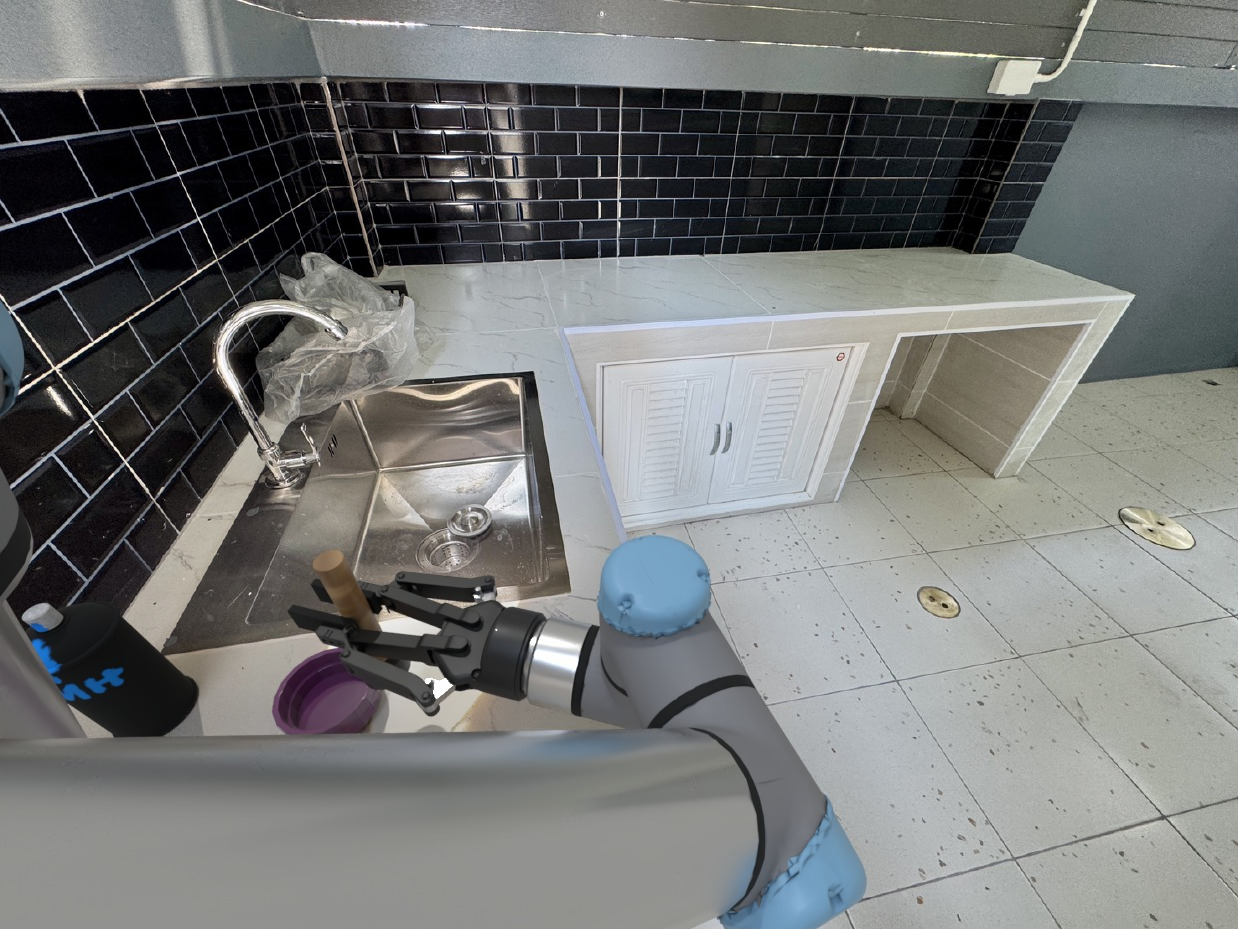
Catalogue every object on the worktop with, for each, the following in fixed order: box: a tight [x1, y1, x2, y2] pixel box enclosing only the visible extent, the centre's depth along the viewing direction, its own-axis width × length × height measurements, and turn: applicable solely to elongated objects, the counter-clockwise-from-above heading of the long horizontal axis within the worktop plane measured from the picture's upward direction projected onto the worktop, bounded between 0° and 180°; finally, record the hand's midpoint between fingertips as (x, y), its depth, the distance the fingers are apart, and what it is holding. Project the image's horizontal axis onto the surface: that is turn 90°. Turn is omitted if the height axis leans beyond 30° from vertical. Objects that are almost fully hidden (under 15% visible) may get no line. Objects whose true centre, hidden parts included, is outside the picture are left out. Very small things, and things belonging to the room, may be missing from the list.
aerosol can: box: [21, 600, 199, 737], centre depth 53 cm, size 8×8×20 cm
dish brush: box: [312, 549, 412, 691], centre depth 48 cm, size 5×5×18 cm
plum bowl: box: [271, 647, 381, 735], centre depth 59 cm, size 10×10×4 cm
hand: (307, 602), depth 49 cm, fingers closed on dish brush, 2 cm apart
